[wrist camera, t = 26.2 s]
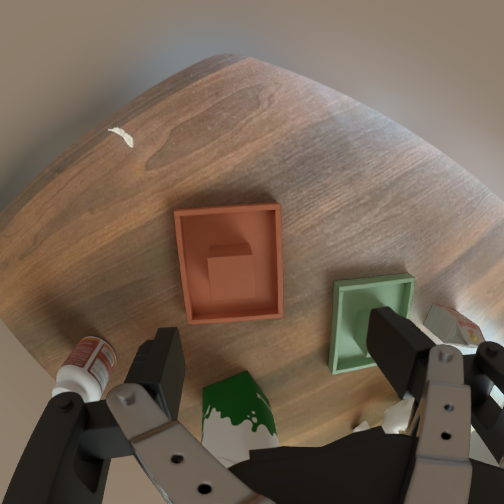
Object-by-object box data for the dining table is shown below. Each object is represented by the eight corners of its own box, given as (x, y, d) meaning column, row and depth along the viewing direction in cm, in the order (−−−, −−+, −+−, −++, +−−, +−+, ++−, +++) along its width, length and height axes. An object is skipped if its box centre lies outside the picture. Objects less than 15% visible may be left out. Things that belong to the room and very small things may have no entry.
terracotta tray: (176, 209, 32) (173, 211, 30) (277, 201, 33) (280, 203, 31) (189, 317, 36) (188, 324, 34) (280, 310, 36) (283, 317, 34)
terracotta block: (209, 246, 33) (206, 257, 29) (249, 243, 33) (253, 254, 29) (212, 284, 34) (211, 300, 30) (251, 281, 35) (255, 296, 30)
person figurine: (410, 471, 36) (477, 411, 29) (351, 468, 36) (417, 405, 29) (401, 420, 48) (453, 358, 41) (349, 412, 48) (398, 344, 41)
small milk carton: (447, 330, 40) (482, 360, 31) (422, 324, 39) (459, 357, 30) (457, 311, 40) (495, 338, 30) (433, 303, 39) (473, 332, 29)
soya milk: (276, 401, 40) (302, 514, 21) (223, 421, 41) (227, 532, 21) (250, 362, 38) (268, 489, 19) (192, 386, 38) (180, 507, 19)
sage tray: (333, 281, 36) (339, 286, 34) (407, 272, 37) (415, 277, 35) (327, 366, 39) (332, 374, 37) (394, 352, 40) (400, 359, 38)
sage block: (356, 311, 37) (371, 327, 32) (386, 306, 37) (402, 321, 33) (353, 340, 38) (366, 357, 34) (381, 334, 38) (396, 351, 34)
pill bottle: (75, 356, 36) (43, 402, 25) (85, 326, 35) (49, 372, 24) (110, 377, 37) (86, 428, 27) (123, 349, 36) (97, 402, 25)
